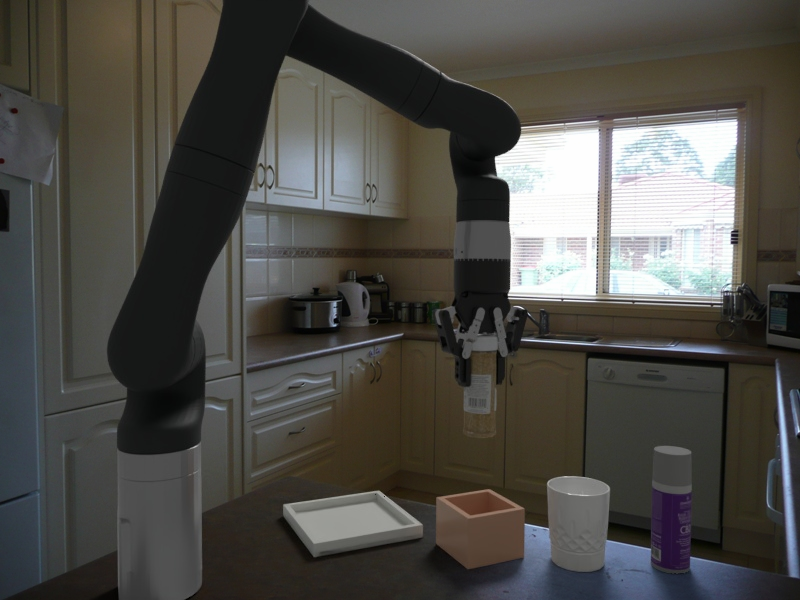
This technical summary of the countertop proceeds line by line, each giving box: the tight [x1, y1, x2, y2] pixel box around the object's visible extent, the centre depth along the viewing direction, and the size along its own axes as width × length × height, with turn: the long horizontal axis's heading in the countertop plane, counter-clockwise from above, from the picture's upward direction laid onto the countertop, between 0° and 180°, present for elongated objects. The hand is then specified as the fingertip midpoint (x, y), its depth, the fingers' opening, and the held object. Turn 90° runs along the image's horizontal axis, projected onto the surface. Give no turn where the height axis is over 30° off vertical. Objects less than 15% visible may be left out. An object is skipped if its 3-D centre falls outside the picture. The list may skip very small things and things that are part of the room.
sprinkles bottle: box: [462, 333, 498, 439], centre depth 87 cm, size 5×5×14 cm
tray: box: [282, 490, 424, 558], centre depth 96 cm, size 16×16×2 cm
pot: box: [435, 488, 526, 570], centre depth 87 cm, size 9×9×6 cm
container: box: [650, 445, 693, 575], centre depth 83 cm, size 5×5×15 cm
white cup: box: [546, 475, 611, 573], centre depth 84 cm, size 8×8×10 cm
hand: (480, 384), depth 87 cm, fingers closed on sprinkles bottle, 4 cm apart
